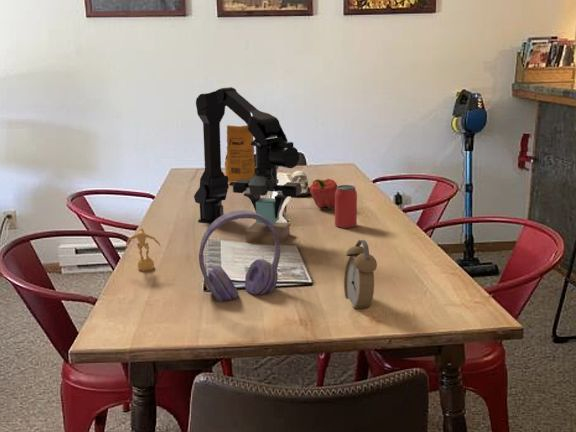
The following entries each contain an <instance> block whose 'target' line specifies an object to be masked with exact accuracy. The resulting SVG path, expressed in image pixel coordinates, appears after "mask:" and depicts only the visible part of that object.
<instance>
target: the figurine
mask: <svg viewBox="0 0 576 432" xmlns="http://www.w3.org/2000/svg"><path fill="white" fill-rule="evenodd" d="M147 238H148V239H150V240H154V242H155V243H156V244H158V246H159V247H161V244H160V242H159V241H158V240H157V239H156V237H154V236H153V235H152V236H151V235H150V234H147V233H146V232H145V230H144V228H141V227H140V229H139V230H138V232H137V233H136V234H133V235H132V236H131V237H129V238H128V239H127V241H126V243H125V248H128V246H129V243H130V242H131V240H134V239H137V243H136V246H137V249H138V250H139V251H138V253H139V255H140V259H138V262H137V269H138V270H139V271H141V272H142V271H143V272H146V271H151V270H153V269H154V268H155V261H154V260H153V259H152V258H151V257H150V256H149V253H150V251H149V249H150V246H149V242H146V241H147V240H146V239H147ZM143 248H144V249H146V251H145V256H143V251H142V250H143Z"/></svg>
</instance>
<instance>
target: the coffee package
mask: <svg viewBox="0 0 576 432" xmlns="http://www.w3.org/2000/svg"><path fill="white" fill-rule="evenodd" d="M252 141H254V137H253V135H252V134H251V133H250V132H249V130H248V127H247V125H241V126H240V125H239V126H237V125H230V124H227V125H226V144H227V145H226V154H225V160H224V170H225V176H228V183H232V182H233V183H234V182H236V181H238V180H240V179H248V180H251V179H252V177H253V176H254V170H255V168H256V162H255V156H254V155H255V146H252V145H251V142H252Z"/></svg>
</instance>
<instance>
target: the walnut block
mask: <svg viewBox="0 0 576 432" xmlns="http://www.w3.org/2000/svg"><path fill="white" fill-rule="evenodd" d="M272 225H273V226H274V228H275V229H276V231H277V234H278V237H279V242H280V246H281V245H282V244H283V242H285V241H286V240H287V238H288V237H289V236H290V235H291V233H290V229H291V228H290V227H291V226H290V225H291V224H290V222H279V221H276V222H275V223H274V224H272ZM245 242H246V243H251V244H252V243H254V244H264V245H265V244H268V245H275V243H276V241H275V238H274V235H273V233H272V231H271V230H270V228H269V227H268V226H267V225H266V224H265V223H256V221H255V222H254V223H253V224H252V225H251V226H249V227H248V228H247V229H246V230H245Z"/></svg>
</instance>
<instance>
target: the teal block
mask: <svg viewBox="0 0 576 432" xmlns="http://www.w3.org/2000/svg"><path fill="white" fill-rule="evenodd" d="M275 204H276V201H275V198H270V197H260V199H259V200H258V201H257V202H256V211H255V213H257V214H259V215H261V216H262V217H264V218H265V219H266V220H268V221H269V222H270V223H271V224H274V223H275V222H278V221H279V220H280V215H279V216H278V218H275ZM255 222H256V223H263V222H261V221H259V220H256V219H255Z"/></svg>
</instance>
